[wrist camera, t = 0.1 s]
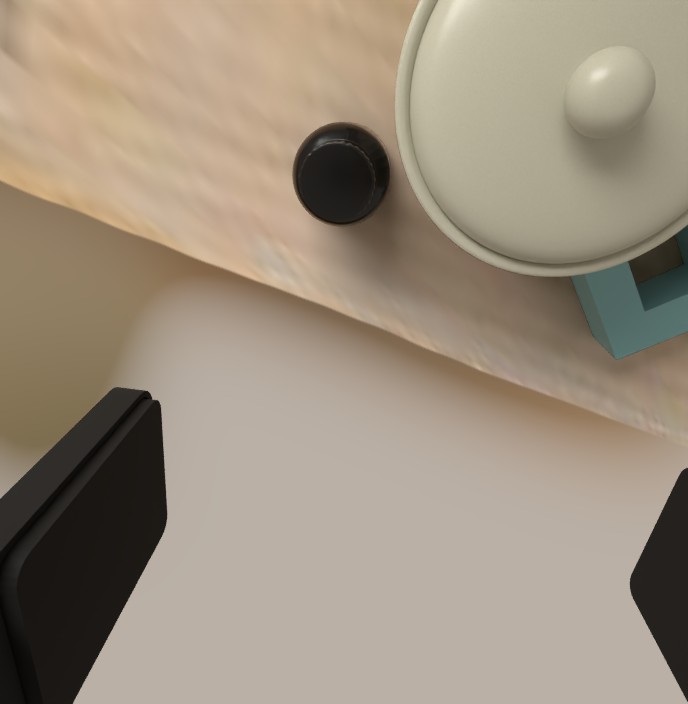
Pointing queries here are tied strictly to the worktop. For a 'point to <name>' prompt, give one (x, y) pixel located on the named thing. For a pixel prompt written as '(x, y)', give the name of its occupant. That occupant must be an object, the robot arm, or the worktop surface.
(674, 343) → the worktop surface
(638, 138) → the canister
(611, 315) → the socket
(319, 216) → the supplement bottle
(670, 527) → the robot arm
